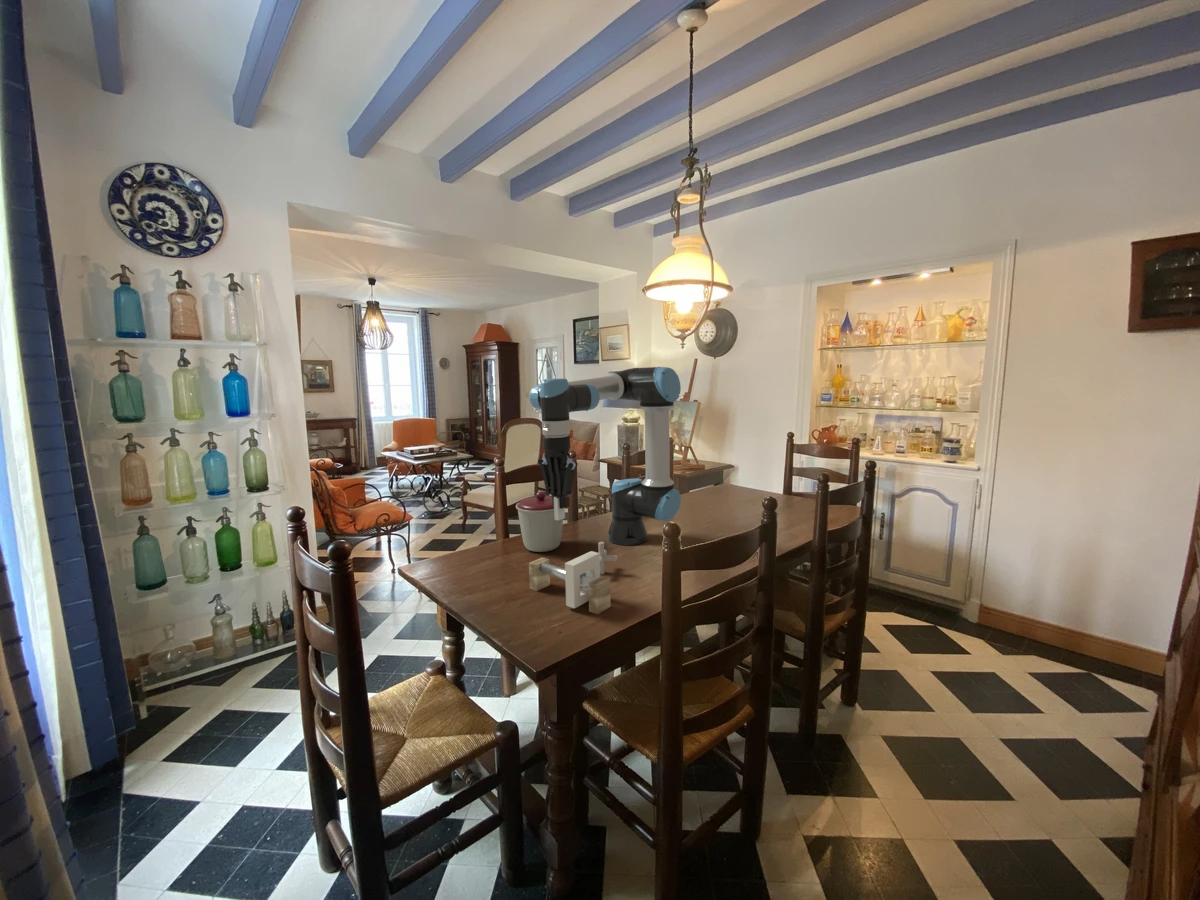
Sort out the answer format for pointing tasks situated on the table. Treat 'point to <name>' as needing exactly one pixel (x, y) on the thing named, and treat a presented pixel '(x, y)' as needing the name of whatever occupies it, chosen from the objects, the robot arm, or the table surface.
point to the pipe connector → (604, 557)
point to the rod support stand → (597, 587)
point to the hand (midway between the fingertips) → (559, 518)
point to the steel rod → (563, 573)
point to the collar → (572, 577)
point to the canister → (539, 523)
